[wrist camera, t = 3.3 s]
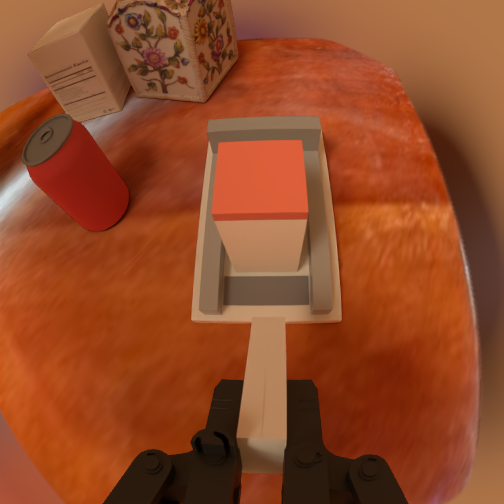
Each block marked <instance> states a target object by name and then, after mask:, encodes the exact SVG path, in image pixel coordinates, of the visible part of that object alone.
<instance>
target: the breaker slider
mask: <svg viewBox="0 0 504 504" xmlns="http://www.w3.org/2000/svg"><path fill="white" fill-rule="evenodd" d="M212 216H213V219H214V221H215V224H216V226H217V229H218V231H219V234H220V236H221V239H222V241H223V244H224V246H225V249H226V251H227V254H228V256H229V259H230V261H231V263H232V266H233V268H234V271H235V272H297V271H298V266H299V261H300V255H301V250H302V245H303V240H304V234H305V229H306V224H307V218H308V199H307V187H306V176H305V165H304V155H303V146H302V140H265V141H238V142H220V143H219V145H218V154H217V163H216V173H215V183H214V193H213V204H212Z"/></svg>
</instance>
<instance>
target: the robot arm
mask: <svg viewBox="0 0 504 504" xmlns="http://www.w3.org/2000/svg"><path fill="white" fill-rule="evenodd" d="M190 442H191V445H192V447H193V450H192V451H190V452H188V453H183V454H176V455H167V454H166V453H164V452H162V451H160V450H155V449H152V450H146V451H144V452H141V453H140V454H139V455H138V456H137V457H136V458H135V459H134V461H133V462H132V463H131V465H130V466H129V468H128V469H127V471H126V472H125V473H124V475H123V476H122V478H121V479H120V480H119V482H118V483H117V485H116V486H115V487H114V489H113V490H112V492H111V493H110V494H109V496H108V497H107V499H106V500H105V501H104V503H103V504H240V495H241V473H253V474H283V483H282V493H281V494H282V502H281V504H408V502H407V500H406V498H405V496H404V494H403V492H402V490H401V488H400V486H399V485H398V483H397V481H396V479H395V477H394V475H393V473H392V471H391V469H390V467H389V465H388V464H387V463H386V461H385V460H384V459H383V458H381V457H379V456H377V455H370V454H369V455H363V456H361V457H359V458H357V459H355V460H354V459H348V458H343V457H339V456H335V455H334V454H332V453H330V452H329V451H328V450H327V449H326V448H325V446H324V444H323V440H322V431H321V420H320V410H319V402H318V391H317V388H316V386H315V385H314V383H313V382H312V380H286V328H285V317H252V325H251V333H250V340H249V348H248V356H247V363H246V371H245V378H244V380H223V379H222V380H221V381H220V382H219V384H218V385H217V386H216V387H215V389H214V394H213V398H212V403H211V408H210V411H209V416H208V420H207V424H206V429H203V430H201V431H199V432H197V433H196V434H195V435H194V436H193V438H192V440H191V441H190Z"/></svg>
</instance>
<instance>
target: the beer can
mask: <svg viewBox="0 0 504 504" xmlns="http://www.w3.org/2000/svg"><path fill="white" fill-rule="evenodd" d="M22 161H23V163H24V164H25V165H26V167H27V170H28V172H29V175H30V177H31V179H32V180H33V182H34V183H35V184H36V185H37V186H38V187H39V188H40V189H41V190H43V191H44V192H45V193H46V194H47V195H48V196H49V197H50V198H51V199H52V200H53V201H54V202H55V203H56V204H58V205H59V206H60V207H61V208H62V209H63V210H64V211H65V212H66V213H68V214H69V215H70V216H71V217H72V218H73V219H74V220H75V221H77V222H78V223H79V224H80V225H81V226H82V227H84V228H85V229H87V230H88V231H94V232H98V231H103V230H106V229H108V228H109V227H111V226H113V225H114V224H115V223H116V222H117V221H119V220H120V218H121V217H122V215H123V214H124V213H125V211H126V208H127V206H128V203H129V191H128V188H127V186H126V184H125V183H124V182H123V180H122V179H121V177H120V176H119V175H118V173H117V172H116V170H115V169H114V168H113V166H112V165H111V163H110V162H109V161H108V159H107V158H106V156H105V155H104V153H103V152H102V151H101V149H100V148H99V146H98V145H97V143H96V142H95V140H94V139H93V137H92V136H91V134H90V133H89V132H88V130H87V129H86V128H85V127H84V126H83V125H82V124H81V123H79V122H77V121H76V120H74V119H72V117H71V116H70V115H68V114H59V115H56V116H53V117H51V118H49V119H48V120H46V121H45V122H43V123H42V124H41V125H40V126H39V127H38V128H37V129H36V130H35V131H34V132H33V133H32V134H31V136H30V137H29V139H28V140H27V142H26V143H25V146H24V148H23V151H22Z"/></svg>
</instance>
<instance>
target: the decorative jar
mask: <svg viewBox="0 0 504 504" xmlns="http://www.w3.org/2000/svg"><path fill="white" fill-rule="evenodd" d="M106 26H107V29H108V32H109V34H110V37H111V39H112V41H113V44H114V46H115V49H116V51H117V54H118V56H119V58H120V61H121V63H122V66H123V68H124V70H125V72H126V74H127V77H128V79H129V81H130V83H131V85H132V87H133V89H134V92H135V93H136V96H137V97H138V98H140V97H141V98H142V97H144V98H157V99H170V100H178V101H191V102H200V103H204V102H206V101H207V100H208V98H209V97H210V96H211V94H212V93H213V91H214V90H215V89H216V87H217V86H218V84H219V83H220V82H221V80H222V79H223V78H224V76H225V75H226V74H227V72H228V71H229V70H230V68H231V67H232V66H233V65H234V63H235V62H236V61H237V59H238V47H237V39H236V32H235V26H234V18H233V12H232V6H231V1H230V0H116V3H115V5H114V7H113V9H112V11H111V14H110V16H109V19H108V21H107V24H106Z"/></svg>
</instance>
